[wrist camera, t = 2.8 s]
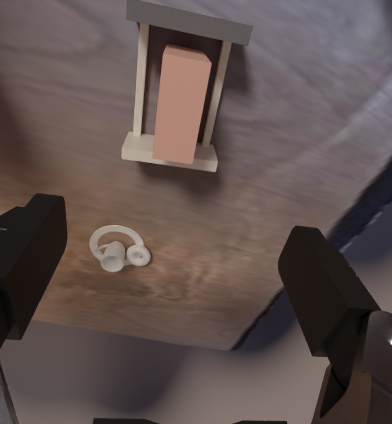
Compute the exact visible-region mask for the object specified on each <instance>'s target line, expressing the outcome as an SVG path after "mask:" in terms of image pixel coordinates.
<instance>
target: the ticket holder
mask: <svg viewBox="0 0 392 424" xmlns="http://www.w3.org/2000/svg"><path fill="white" fill-rule="evenodd" d="M126 20H130V21H135V22H139V23H140V33H139V49H138V65H137V81H136V97H135V112H134V128H133V132H128V135H127V137H126V139H125V142H124V144H123V146H122V159H128V160H135V161H142V162H148V163H155V164H162V165H169V166H176V167H183V168H190V169H197V170H204V171H211V172H216V168H217V164H218V160H217V157H216V153H215V150H214V146H213V145H211V144H210V140H211V136H212V131H213V127H214V122H215V118H216V113H217V108H218V104H219V99H220V95H221V90H222V86H223V81H224V76H225V72H226V67H227V63H228V58H229V54H230V49H231V44H232V43H237V44H242V45H246V46H248V44H249V40H250V36H251V32H252V27H253V26H250V25H245V24H241V23H236V22H232V21H228V20H223V19H219V18H214V17H210V16H205V15H201V14H197V13H192V12H188V11H183V10H179V9H174V8H170V7H166V6H161V5H157V4H152V3H148V2H143V1H139V0H127V15H126ZM150 25H153V26H158V27H163V28H167V29H172V30H177V31H181V32H186V33H190V34H195V35H200V36H204V37H209V38H214V39H218V40H222V45H221V50H220V55H219V60H218V65H217V70H216V75H215V80H214V85H213V90H212V95H211V100H210V105H209V110H208V115H207V120H206V125H205V129H204V134H203V139H202V143H198V142H197V143H196V148H195V153H194V158H193V163H192V164H186V163H179V162H172V161H166V160H159V159H152V154H153V145H154V135H148V134H142V133H141V129H142V116H143V103H144V91H145V78H146V65H147V53H148V40H149V27H150Z"/></svg>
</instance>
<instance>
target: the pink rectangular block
mask: <svg viewBox="0 0 392 424" xmlns="http://www.w3.org/2000/svg"><path fill="white" fill-rule="evenodd" d="M211 64H212V63H211V62H210V61H209V59H208V58H207V57H206V55H205V54H204V53H203V51H201V50H197V49H192V48H187V47H182V46H177V45H172V44H168V43H167V45H166V48H165V50H164V53H163V59H162V69H161V78H160V88H159V97H158V107H157V116H156V126H155V135H154V145H153V154H152V159H159V160H166V161H172V162H179V163H186V164H192V163H193V158H194V153H195V148H196V143H197V137H198V132H199V127H200V122H201V116H202V111H203V106H204V101H205V95H206V90H207V85H208V80H209V75H210V69H211Z"/></svg>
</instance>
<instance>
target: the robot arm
mask: <svg viewBox="0 0 392 424" xmlns="http://www.w3.org/2000/svg"><path fill="white" fill-rule="evenodd" d="M66 243H67V223H66V211H65V201H64V198H63V197H62V196H57V195H49V194H40V193H37V194H35V195H34V196H33V198H32V199H31V200H30V201H29V203H28V204H27V205H26V206H25V207H15V208H13V209H11V210H9V211H8V212H6V213H4V214H2V215H1V216H0V348H1V346H2V345H3V343H4V341H5V339H12V340H21V339H22V336H23V335H24V332H25V331H26V329H27V327H28V325H29V323H30V320H31V318H32V316H33V314H34V312H35V310H36V308H37V306H38V304H39V302H40V300H41V298H42V296H43V294H44V292H45V290H46V288H47V286H48V284H49V282H50V280H51V278H52V275H53V273H54V271H55V269H56V267H57V265H58V263H59V261H60V259H61V257H62V255H63V253H64V251H65V247H66ZM278 270H279V274H280V277H281V279H282V282H283V284H284V287H285V289H286V292H287V294H288V297H289V299H290V302H291V304H292V307H293V309H294V311H295V314H296V316H297V319H298V321H299V324H300V326H301V329H302V331H303V334H304V336H305V339H306V341H307V344H308V346H309V349H310V351H311V354H312V356H317V357H328V359H329V361H330V364H329V366H328V367H327V368H326V371H325V375H324V378H323V382H322V386H321V390H320V393H319V397H318V401H317V405H316V408H315V412H314V416H313V419H312V422H311V424H392V313H390V312H386V311H382V310H381V309H380V308H379V306H378V305H377V303H376V302H375V300H374V299H373V297H372V296H371V295H370V293H369V292H368V290H367V289H366V288H365V286H364V285H363V283H362V282H361V281H360V279H359V278H358V276H356V273H355V272H354V270H353V269H352V268H351V267H349V263H348V262H347V260H346V259H345V258H344V256H343V255H342V253H341V252H339V251H338V250H337V249H336V248H335V247H334V246H332V245H331V244H330V243H328V242H327V240H326V239H325V237H324V236H323V234H322V233H321V231H320V230H319V229H318V228H313V227H304V226H295V227H294V228H293V229H292V231H291V233H290V235H289V237H288V239H287V242H286V244H285V246H284V248H283V250H282V252H281V255H280V257H279V261H278ZM0 424H19V422H18V419H17V416H16V412H15V409H14V405H13V402H12V399H11V395H10V392H9V389H8V385H7V382H6V379H5V375H4V372H3V369H2V366H1V362H0ZM93 424H158V423H155V422H152V421H149V420H146V419H108V418H94V420H93ZM234 424H287V421H240V422H237V423H234Z"/></svg>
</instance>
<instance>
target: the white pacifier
mask: <svg viewBox="0 0 392 424" xmlns="http://www.w3.org/2000/svg"><path fill="white" fill-rule="evenodd" d="M112 231H118V232H123V233H125V234H127V235H129V236H130V237H132V238H133V240H134V241H135V243H136V245H133V246H131V247H129V248H128V250H127V252H126V257H127V259H125V248H124V245H123V244H122V243H121V242H118V241H114V242H111V243H110V244H105V245H102V246H100V247H98V245H97V244H98V240H99V238H100V237H101V236H102V235H103V234H105V233H107V232H112ZM89 246H90V249H91V252H92V253H93V255H94V256H95V257H96V258H97V259H99V260H100V261H101V262H100V264H101V266H102V268H103V269H105V270H106V271H109V272H117V271H120V270H121V269H122V268H123V266H126V265H130V264H133V265H136V266H144V265H146V264H147V263H148V262H149V261H150V258H151V256H150V252H149V250H148V249H147V248H145V247H144V243H143V241H142V239H141V237H140V236H139V235H138V234H137V233H136V232H135V231H133V230H131V229H129V228H127V227H124V226H119V225H109V226H104V227H101V228H99V229H98V230H96V231H95V232H94V233H93V234H92V236H91V238H90V241H89ZM105 247H107V248H106V250H105V252H104V254H102V253H101V252H100V251H99V250H100V249H102V248H105ZM141 256H142V258H141ZM124 259H125V260H124Z"/></svg>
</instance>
